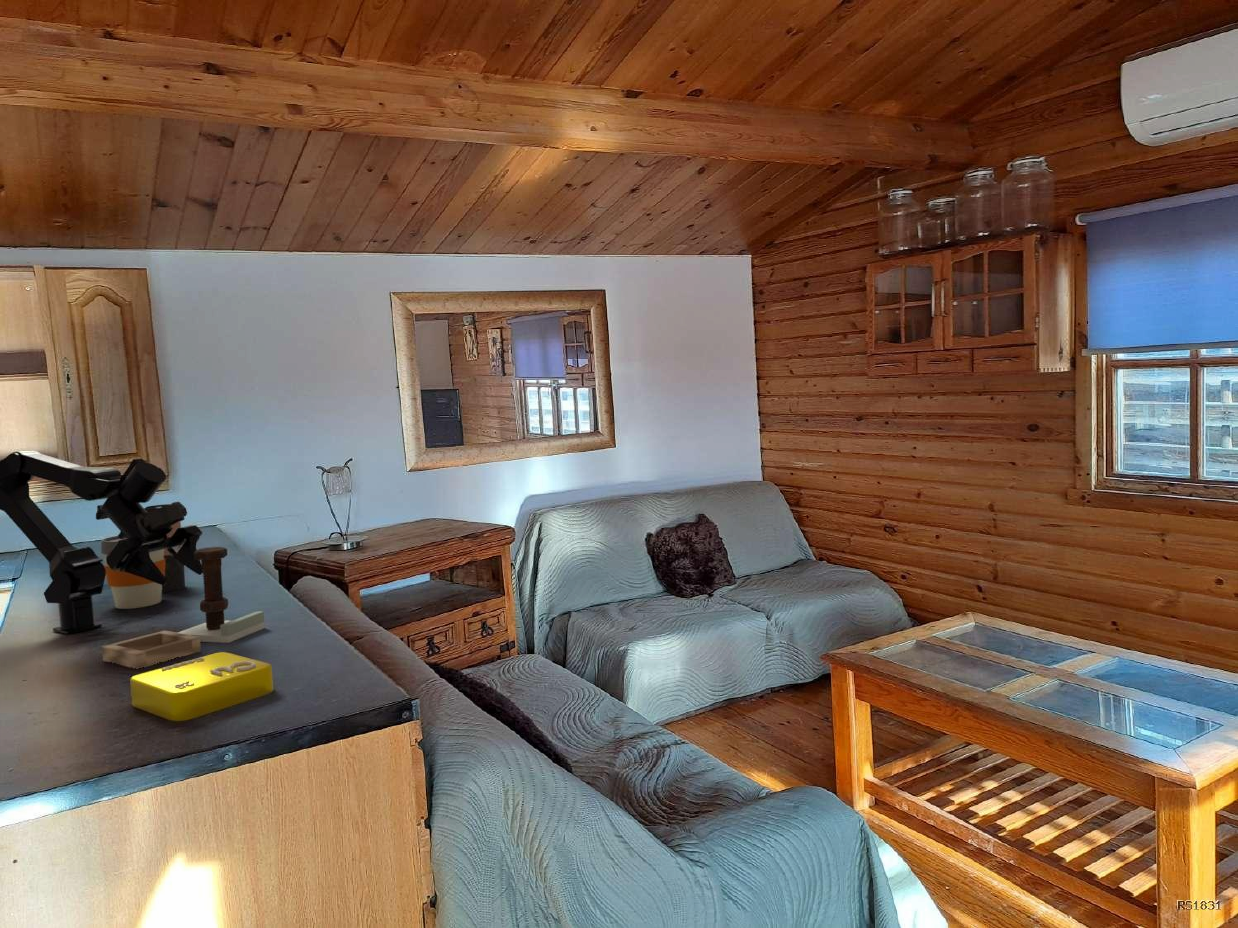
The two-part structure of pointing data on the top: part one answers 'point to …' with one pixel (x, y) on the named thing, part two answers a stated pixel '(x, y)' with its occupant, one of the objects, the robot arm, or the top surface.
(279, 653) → the top surface
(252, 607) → the top surface
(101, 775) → the top surface
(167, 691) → the element tile
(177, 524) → the travel mug
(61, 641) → the top surface
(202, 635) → the pale green ledge plate
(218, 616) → the bolt
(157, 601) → the reusable coffee cup
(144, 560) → the robot arm
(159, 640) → the socket
